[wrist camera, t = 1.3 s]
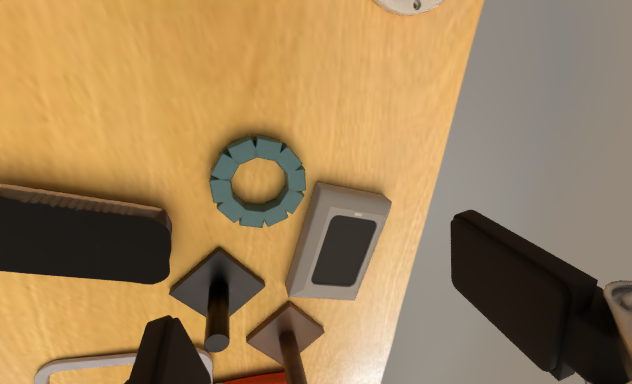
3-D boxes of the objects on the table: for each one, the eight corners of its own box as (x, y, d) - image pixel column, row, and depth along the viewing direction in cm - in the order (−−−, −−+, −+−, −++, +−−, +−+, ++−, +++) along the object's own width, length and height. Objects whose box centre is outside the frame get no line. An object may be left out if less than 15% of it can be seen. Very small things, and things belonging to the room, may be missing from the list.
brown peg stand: (289, 300, 42) (303, 356, 34) (322, 327, 45) (343, 383, 37) (246, 336, 42) (250, 400, 34) (283, 360, 46) (294, 422, 37)
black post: (219, 246, 36) (216, 297, 28) (264, 281, 39) (273, 336, 31) (170, 288, 36) (153, 351, 28) (219, 320, 40) (217, 383, 32)
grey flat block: (290, 303, 37) (324, 193, 33) (285, 284, 40) (316, 181, 36) (357, 306, 40) (397, 206, 36) (348, 288, 44) (383, 194, 39)
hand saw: (28, 437, 36) (10, 377, 33) (43, 411, 39) (28, 353, 36) (293, 400, 44) (299, 349, 41) (290, 381, 47) (296, 331, 44)
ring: (260, 115, 31) (262, 118, 30) (318, 181, 36) (323, 187, 34) (190, 177, 32) (188, 184, 30) (256, 235, 36) (258, 243, 35)
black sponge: (180, 205, 33) (175, 220, 29) (168, 270, 35) (162, 290, 32) (-13, 173, 27) (-47, 187, 24) (-12, 252, 30) (-42, 275, 26)
